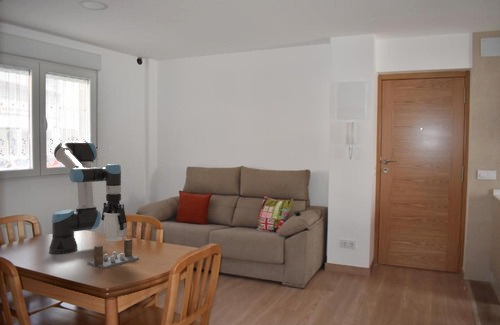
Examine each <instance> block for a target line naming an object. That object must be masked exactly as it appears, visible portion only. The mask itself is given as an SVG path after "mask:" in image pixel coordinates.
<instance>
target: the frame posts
mask: <svg viewBox="0 0 500 325" xmlns="http://www.w3.org/2000/svg"><path fill="white" fill-rule="evenodd" d="M123 248H124V249H123V251H124V252H123V253H125V256H126V257H129V256H133V239H131V238H126V239H123ZM93 252H94V253H93V255H94V256H93V258H94V260H93V261H94V267H97V268H99V267H98V265H99V264H103V254H104V246H103V245H99V244H98V245H95V246H94V247H93Z"/></svg>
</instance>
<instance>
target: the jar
mask: <svg viewBox="0 0 500 325" xmlns="http://www.w3.org/2000/svg"><path fill="white" fill-rule="evenodd" d="M104 215H105V217H104V221H103V229H104V230H103V232H104V235H105V237H106V238H105V242H108V243H109V242H111V243H112V242H113V243H116V242H120V241H122V240H123V238H122V237H123V236H120V237H118V224H119V221H118V217H117V216H119V215H120V213H114V211H112V213H111V214H110V213H107V212H104Z"/></svg>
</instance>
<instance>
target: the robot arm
mask: <svg viewBox="0 0 500 325" xmlns="http://www.w3.org/2000/svg"><path fill="white" fill-rule="evenodd" d="M97 155H98V154H97V148H96V145H95V144H94V143H93V142H92V141H84V140H83V141H82V140H81V141H80V140H75V141H72V140H68V141H67V140H65V141H62V142H60V143H59V144H57V145H56V147H55V148H54V150H53V156H54V158H55V159H56V160H57V162H59V163H60V164H62V165H63V166H64V167H65V168H66V169H67V170H68V172H69V180H70V181H71V183H76V184H77V187H76V188H77V200H78V201H77V202H78V205H77V206H76V208H75V210H74V209H63V210H59V211H56V212H54V213H53V214H52V216H51V217H52V218H51V232H52V234H51V235H52V238H51V242H50V245H49V246H48V247H49V248H48V252H49V254H55V255H57V254H58V255H59V254H61V255H62V254H68V253H69V254H70V253H74V252H76V251H78V243H77V241H76V238H75V232H81V231H91V230H94V229H95V230H96V229H97V228H99V226H100V223H101V221H103V222H104V217H105V215H104V212H107V213H110V214H111V213H112V211H114V213H120V215H119V216H117V217H118V221H119V224H118V237H120V236H121V237H123V236H124V228H125V224H126V223H127V221H128V220H127V216H126V212H125V211H126V210H125V204H124V203H121V202H120V201H121V200H122V194H121V193H122V168H121V165H120V164H119V163H118V164H116V163H114V164H113V163H111V164H110V163H108V164H106V165H105V166H103V167H102V166H101V167H92V165H93V164H94V163H95V160H97V157H98V156H97ZM93 182H94V183H95V182H105V186H106V187H105V193H106V194H105V200H106V201H105V202H103V208H102V214H101V211H100V209H97V206H96V205H95V203H94V202H95V201H94V188H93V187H94V186H93Z"/></svg>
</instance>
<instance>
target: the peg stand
mask: <svg viewBox="0 0 500 325" xmlns="http://www.w3.org/2000/svg"><path fill="white" fill-rule="evenodd" d="M139 259H140V256H135V255H132V256H129V257H126V256H125V253H124V252H120V253H118V251H112V255H110V256H109V254H108V253H103V264H99V265H98V267H97V268H102V269H104V270H105V269H109V268H112V267H115V266H118V265H123V264H126V263H130V262H132V261H133V262H134V261H136V260H137V261H138V260H139ZM87 265H91V266H94V260H92V261H88V262H87ZM94 267H95V266H94Z"/></svg>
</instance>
